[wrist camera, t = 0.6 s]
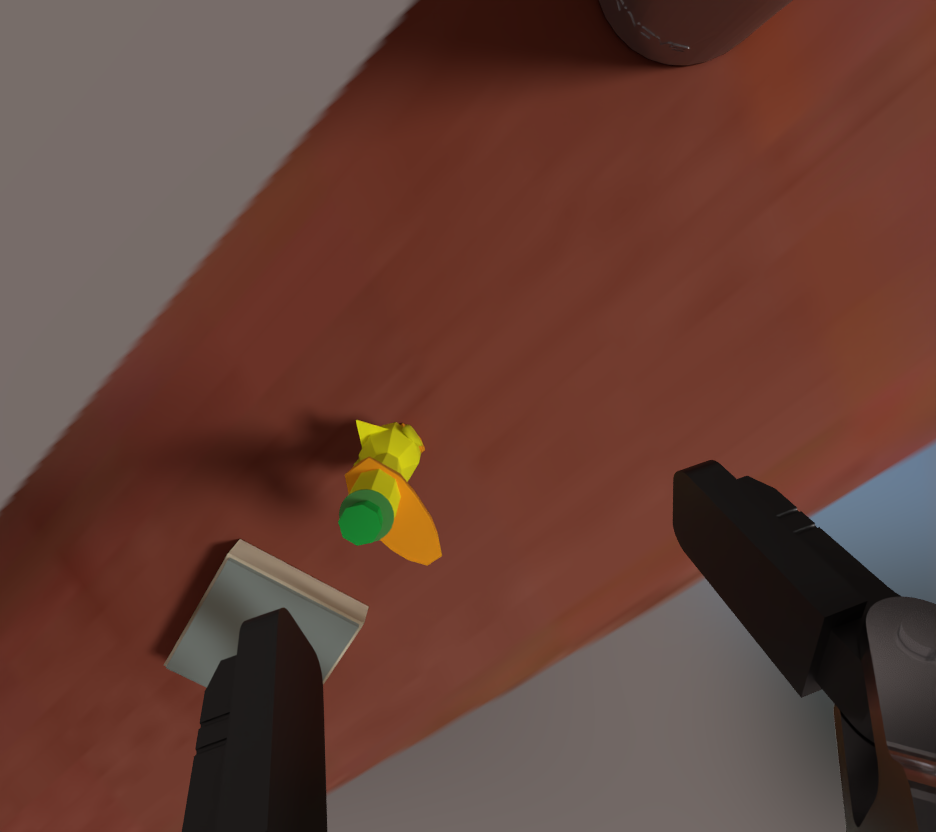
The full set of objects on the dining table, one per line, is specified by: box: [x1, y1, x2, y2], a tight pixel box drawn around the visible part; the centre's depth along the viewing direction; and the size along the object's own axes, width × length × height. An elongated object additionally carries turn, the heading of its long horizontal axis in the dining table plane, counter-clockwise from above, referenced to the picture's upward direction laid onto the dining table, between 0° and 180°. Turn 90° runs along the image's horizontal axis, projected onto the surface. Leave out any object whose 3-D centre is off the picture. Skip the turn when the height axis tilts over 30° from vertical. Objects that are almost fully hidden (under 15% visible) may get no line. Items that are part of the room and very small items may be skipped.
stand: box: [164, 539, 368, 687], centre depth 33 cm, size 9×9×2 cm
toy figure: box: [338, 420, 442, 565], centre depth 26 cm, size 7×4×12 cm, turn 36°
